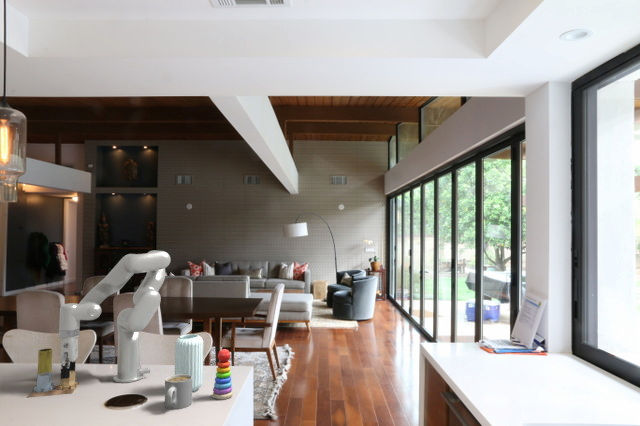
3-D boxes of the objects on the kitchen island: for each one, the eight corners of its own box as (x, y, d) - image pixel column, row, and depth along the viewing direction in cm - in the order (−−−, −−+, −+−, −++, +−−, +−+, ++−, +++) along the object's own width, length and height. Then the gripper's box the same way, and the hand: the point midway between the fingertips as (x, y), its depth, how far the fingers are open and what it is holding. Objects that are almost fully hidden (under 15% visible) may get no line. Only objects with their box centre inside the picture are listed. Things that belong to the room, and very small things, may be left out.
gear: (52, 385, 189) (53, 370, 189) (55, 389, 184) (56, 374, 184) (33, 388, 185) (33, 374, 185) (35, 393, 179) (36, 378, 180)
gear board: (79, 386, 192) (80, 368, 193) (71, 397, 179) (72, 378, 179) (37, 389, 188) (37, 371, 188) (26, 401, 174) (26, 382, 175)
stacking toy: (222, 401, 174) (223, 353, 175) (208, 397, 178) (208, 350, 180) (236, 395, 181) (237, 348, 182) (222, 392, 185) (222, 346, 186)
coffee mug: (175, 398, 178) (175, 373, 178) (196, 401, 175) (197, 375, 175) (152, 411, 165) (153, 383, 165) (175, 414, 162) (176, 386, 162)
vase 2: (194, 395, 182) (195, 339, 183) (169, 393, 184) (170, 338, 185) (207, 385, 193) (208, 333, 194) (182, 384, 195) (183, 332, 196)
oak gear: (78, 383, 191) (79, 369, 191) (75, 389, 184) (75, 374, 185) (60, 385, 189) (60, 370, 189) (56, 390, 182) (56, 375, 183)
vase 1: (44, 385, 194) (45, 351, 194) (32, 384, 195) (33, 351, 196) (55, 380, 200) (56, 348, 200) (43, 379, 201) (45, 347, 202)
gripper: (74, 337, 181) (73, 380, 180) (83, 328, 197) (82, 368, 196) (53, 338, 179) (52, 382, 178) (64, 329, 195) (63, 369, 194)
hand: (68, 374), depth 187 cm, fingers open, 9 cm apart
